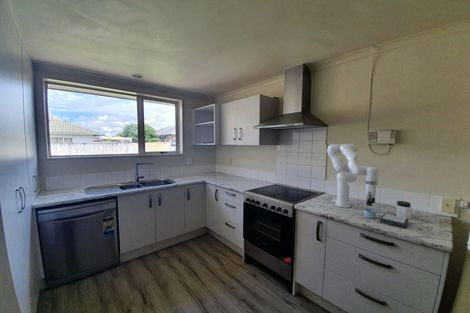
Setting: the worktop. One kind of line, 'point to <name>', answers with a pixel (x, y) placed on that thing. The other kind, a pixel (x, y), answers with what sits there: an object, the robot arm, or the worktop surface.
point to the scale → (394, 220)
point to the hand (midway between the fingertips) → (370, 204)
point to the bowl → (369, 213)
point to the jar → (403, 209)
